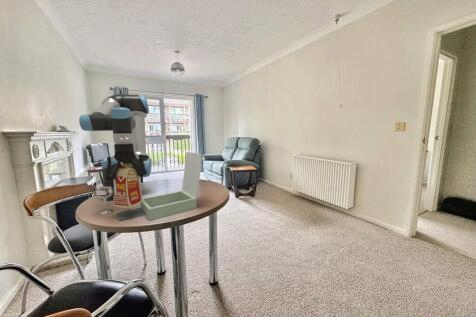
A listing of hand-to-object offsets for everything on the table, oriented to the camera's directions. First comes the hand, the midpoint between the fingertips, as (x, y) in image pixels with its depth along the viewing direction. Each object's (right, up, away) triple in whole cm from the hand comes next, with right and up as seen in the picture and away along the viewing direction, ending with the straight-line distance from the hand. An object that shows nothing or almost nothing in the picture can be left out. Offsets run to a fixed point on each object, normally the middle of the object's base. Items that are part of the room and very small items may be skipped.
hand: (128, 192), depth 91 cm
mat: (0, -11, +1) cm, 11 cm away
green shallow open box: (+16, -10, +8) cm, 20 cm away
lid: (+26, +7, +14) cm, 30 cm away
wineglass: (-13, -11, +5) cm, 18 cm away
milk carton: (0, -6, +1) cm, 6 cm away
